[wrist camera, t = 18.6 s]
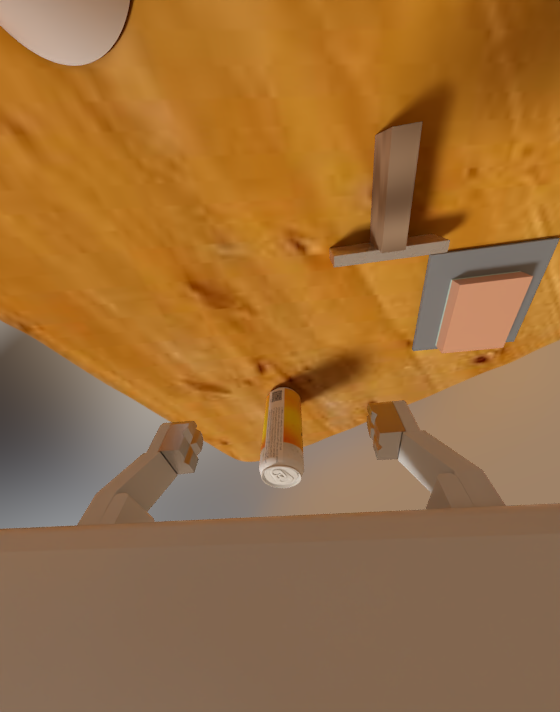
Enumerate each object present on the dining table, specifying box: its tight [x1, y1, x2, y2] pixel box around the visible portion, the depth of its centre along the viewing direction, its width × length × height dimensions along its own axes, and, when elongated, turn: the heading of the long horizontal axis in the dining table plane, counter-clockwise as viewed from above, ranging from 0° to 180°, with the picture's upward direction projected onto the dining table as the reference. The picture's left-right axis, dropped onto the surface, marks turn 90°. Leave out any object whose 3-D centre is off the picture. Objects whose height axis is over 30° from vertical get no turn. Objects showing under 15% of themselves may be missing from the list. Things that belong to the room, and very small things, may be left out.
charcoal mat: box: [412, 238, 560, 351], centre depth 34 cm, size 14×14×1 cm
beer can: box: [259, 387, 304, 488], centre depth 40 cm, size 6×6×15 cm
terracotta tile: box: [435, 271, 533, 353], centre depth 34 cm, size 2×8×10 cm
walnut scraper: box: [329, 121, 450, 267], centre depth 26 cm, size 11×12×5 cm
